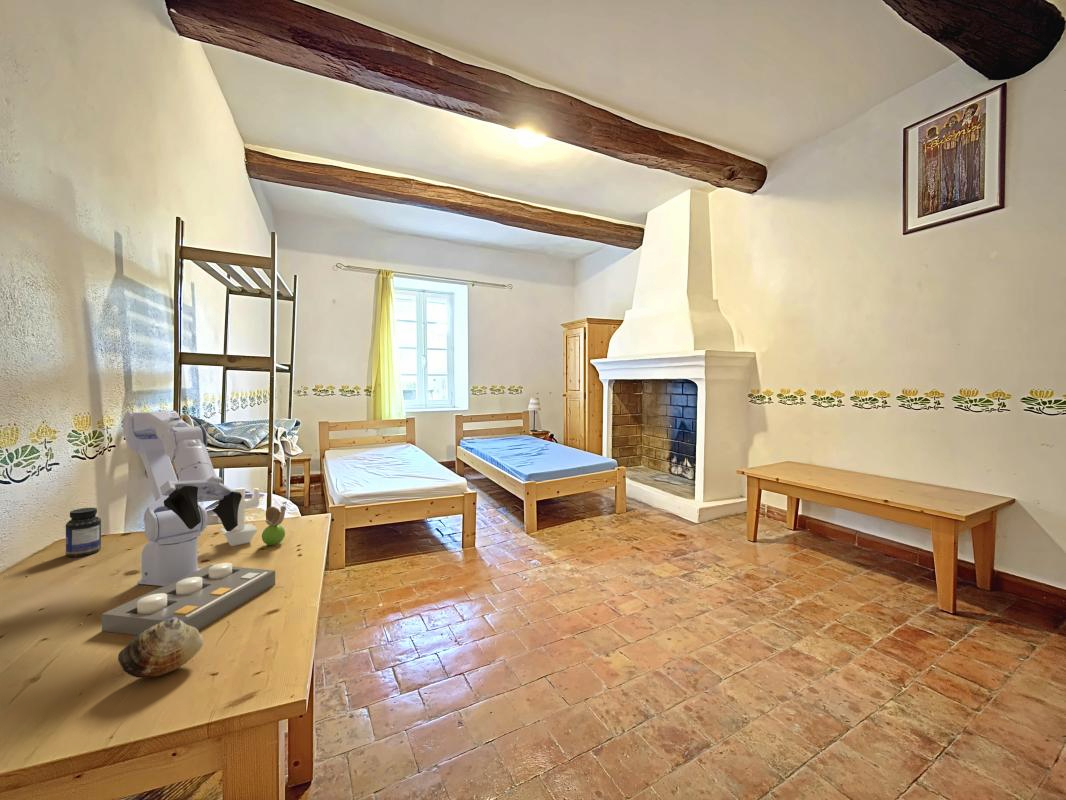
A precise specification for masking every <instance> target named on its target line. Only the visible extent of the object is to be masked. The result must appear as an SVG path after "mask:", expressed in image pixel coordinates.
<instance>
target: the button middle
mask: <svg viewBox="0 0 1066 800" xmlns="http://www.w3.org/2000/svg"><path fill="white" fill-rule="evenodd" d="M201 589H202V578H201V577H190V578H186V579H183V580H181V581H179V582H177V583H176V595H183V596H190V595H192V594H194V593H196V592H197V591H199V590H201Z"/></svg>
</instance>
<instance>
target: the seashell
mask: <svg viewBox="0 0 1066 800" xmlns="http://www.w3.org/2000/svg"><path fill="white" fill-rule="evenodd" d="M199 631H200V630H197V629H196V628H195V627H192V626H189V625H187V624H185V623H184V622H182V621H181V620H180V619H178V618H177V617H173V618H170V619H167V620H165V621H163V622H161V623H159V624H156V625H154V626H152V627H150V628H148V629H147V630H145V631H144V632H142V633H141V634H140V635H136V637H135V638H134V639H133V640H132V641H131V642H129V643H128V644H127V645H126V646H125V647H124V648H122V649H121V650H120V651H119V653H118V655H117V660H118V662H119V664H120V666H121V668H122V670H123V671H124V672H125V673H126V674H127V675H129V676H131V677H133V678H139V679H140V678H155V677H161V676H164V675H167V674H169V673H171V672H174V671H175V670H177V669H178V668H181V667H182V666H184V665H185V664H187V663H188V662H189V661H190V660H192V658H194V657H195V656H196V655H197V653H199V652H200V650H201V648H203V646H204V638H203V636H202V634H201V633H200V632H199Z"/></svg>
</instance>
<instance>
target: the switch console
mask: <svg viewBox="0 0 1066 800" xmlns="http://www.w3.org/2000/svg"><path fill="white" fill-rule="evenodd" d="M213 565H214V564H209V565H207V566H205V567H202V568H199V569H200V570H198V571H196V572H194V573H191V574H189V575H187V576H185V577H182V578H180V579H178V580H176V581H174V582H171V583H169V584H167V585H165V586H159V587H158V588H156V589H154V590H151V591H150V592H147V593H145V594H143V595H140V596H138V597H136V598H134V599H132V600H129V601H128V602H125V603H122V604H121V605H118V606H115V607H114V608H111V609H109V610H107V611H105V612H104V613H101V632H108V633H117V634H123V635H124V634H126V635H133V636H138V635H140V634H141V633H142V632H144V631H145V630H147V629H148V628H150V627H152V626H154V625H156V624H159V623H161V622H163V621H165V620H167V619H170V618H173V617H177V618H178V619H180V620H181V621H182V622H184V623H185V624H187V625H189V626H192V627H195V628H196V629H197V630H198V631H201V630H202V629H204V628H205V627H207V626H208V625H210V624H211V623H214V622H215V621H216V620H219V619H220V618H221V617H223V616H225V615H226V614H228V613H230V612H231V611H234V609H236V608H238V607H240V606H241V605H243V604H245V603H246V602H248V601H249V600H251V599H253V598H255V597H256V596H259V594H261V593H262V592H263V593H264V592H265V591H266V590H268V589H269V588H271V587H273V586H274V585H276V570H275V569H264V568H251V567H239V566H238V567H237V566H232V574H231V575H229V576H227V577H225V578H223V579H221V580H218V579H209V568H210V567H211V566H213ZM190 577H201V578H202V589H201V590H199V591H197V592H196V593H194V594H192V595H190V596H183V595H176V583H177V582H179V581H181V580H183V579H186V578H190ZM158 593H165V594H167V607H166V608H164V609H162V610H160V611H158V612H156V613H154V614H152V615H141V614H137V601H138V600H140V599H141V598H143V597H146V596H149V595H153V594H158Z"/></svg>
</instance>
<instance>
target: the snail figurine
mask: <svg viewBox="0 0 1066 800" xmlns="http://www.w3.org/2000/svg"><path fill="white" fill-rule="evenodd" d="M281 504H282V506H281V507H280V509H279V508H278V507H276V506H269V507H267V509H266V511H265V518H266V519H267V520H265V523H266V525H268V526H266V527H265V529H263V531H262V533H261V539H262V541H263V543H264V544H265V545H268V546H276V545H278V544H280V543H281V542H282V541H284V539H285V536H286V530H285V528H284V526H282V525H280V524H282V523H283V521H284V519H285V514H286V509H287V507H286V504H287V501H283V502H282V503H281Z"/></svg>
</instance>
